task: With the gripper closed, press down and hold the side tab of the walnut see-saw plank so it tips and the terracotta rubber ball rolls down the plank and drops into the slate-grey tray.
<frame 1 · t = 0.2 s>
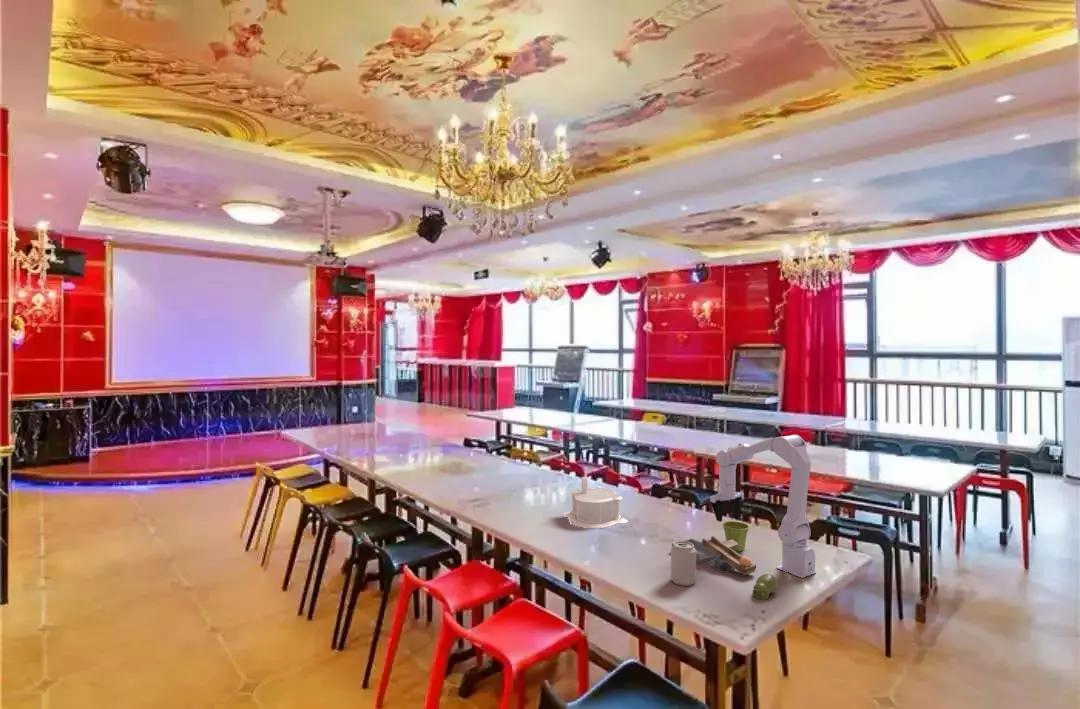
hand: (727, 519, 205), 10 cm above the table, tool pointing down, fingers open, 7 cm apart
pear: (764, 595, 165), on the table
can: (683, 582, 173), on the table
plank: (735, 552, 187), point 4 cm above the table, hinge at -15.0°, touching ball
tray: (695, 554, 197), on the table
ball: (745, 562, 179), point 4 cm above the table, tilted 44°, touching plank
fulcrum: (724, 566, 186), on the table
plant pot: (735, 549, 202), on the table
birthday cake: (595, 519, 237), on the table
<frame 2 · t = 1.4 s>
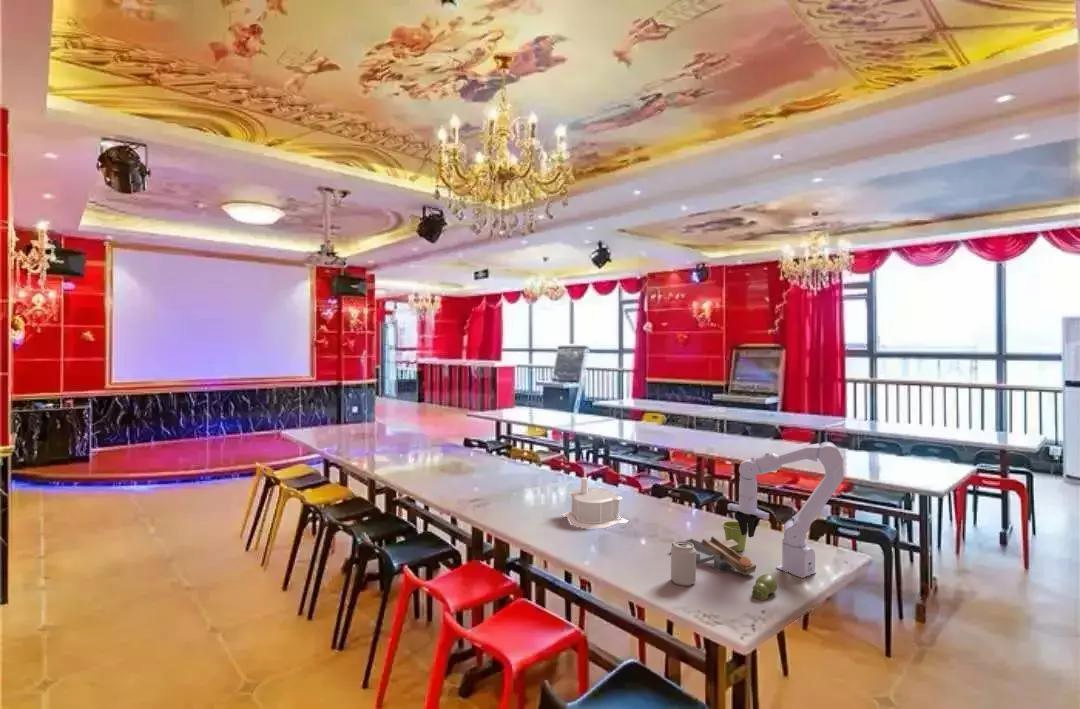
hand: (747, 535, 189), 9 cm above the table, tool pointing down, fingers closed
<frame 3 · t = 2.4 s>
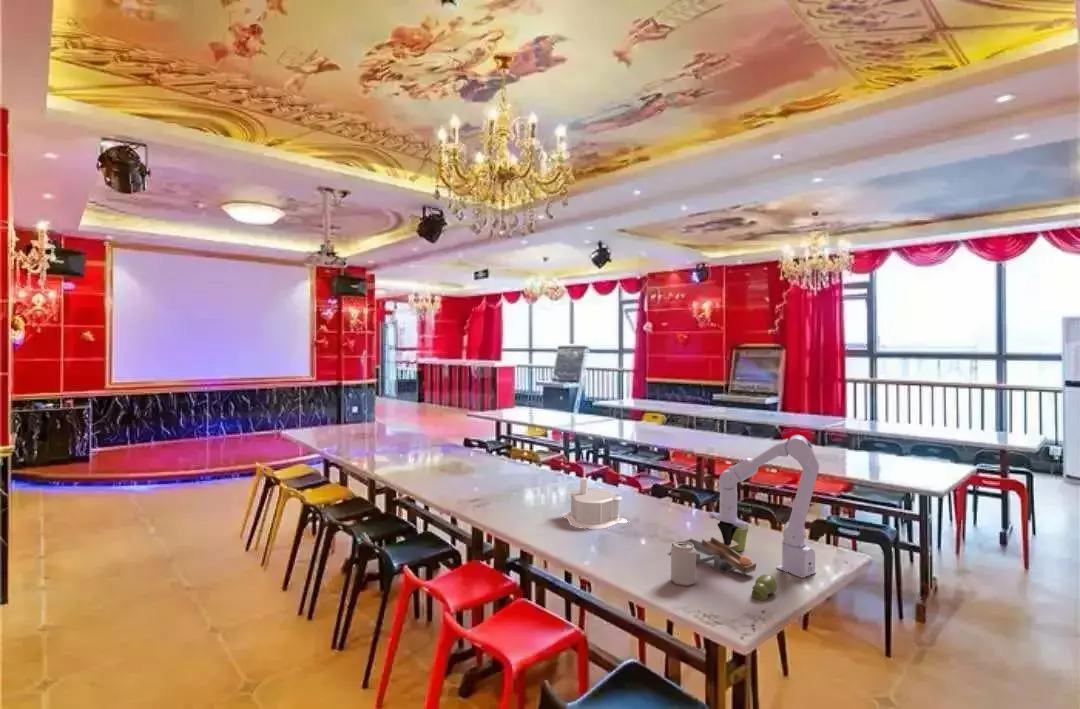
hand: (727, 544, 193), 5 cm above the table, tool pointing down, fingers closed, pressing on plank
plank: (735, 552, 187), point 5 cm above the table, hinge at -12.3°, touching ball, gripper
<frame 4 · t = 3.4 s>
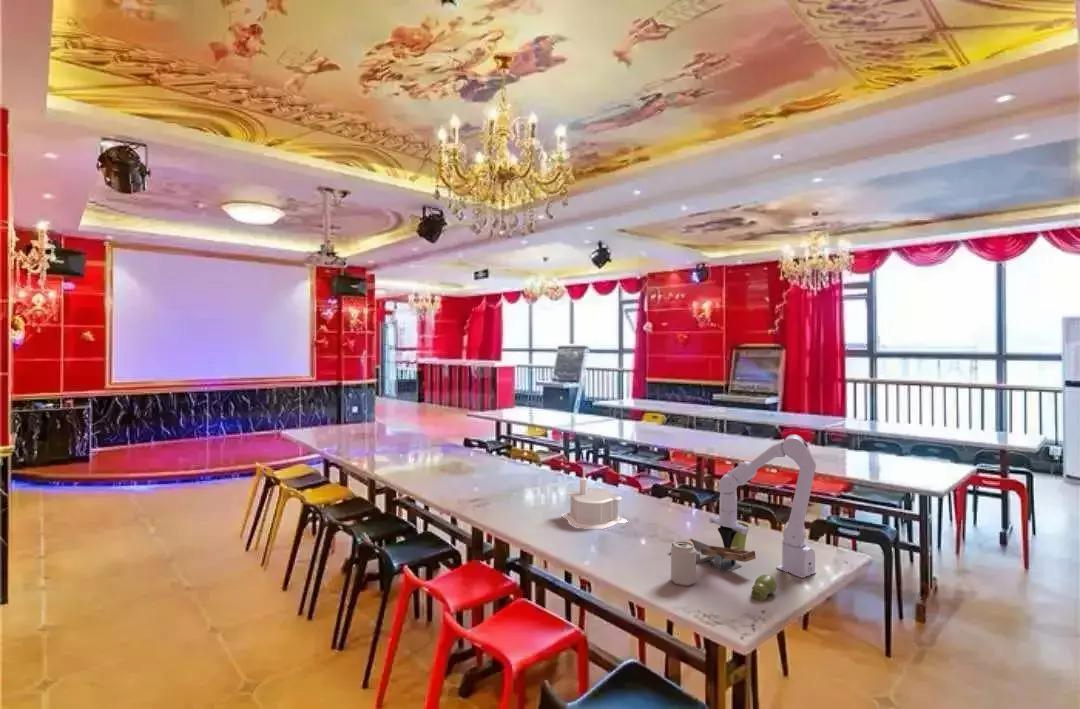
hand: (727, 548, 193), 4 cm above the table, tool pointing down, fingers closed, pressing on plank
plank: (734, 550, 187), point 5 cm above the table, hinge at 10.5°, touching gripper
ball: (688, 545, 199), point 2 cm above the table, tilted 93°, touching tray
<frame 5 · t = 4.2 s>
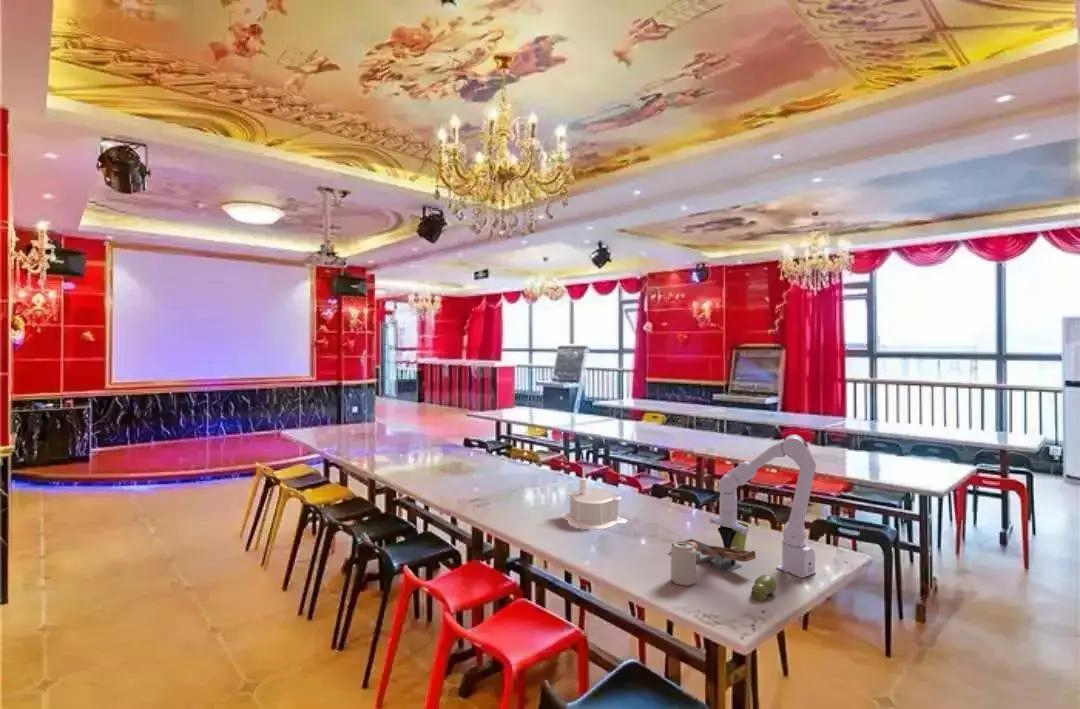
hand: (727, 548, 193), 4 cm above the table, tool pointing down, fingers closed, pressing on plank
plank: (734, 550, 187), point 5 cm above the table, hinge at 10.5°, touching gripper
ball: (692, 547, 197), point 2 cm above the table, tilted 32°, touching tray
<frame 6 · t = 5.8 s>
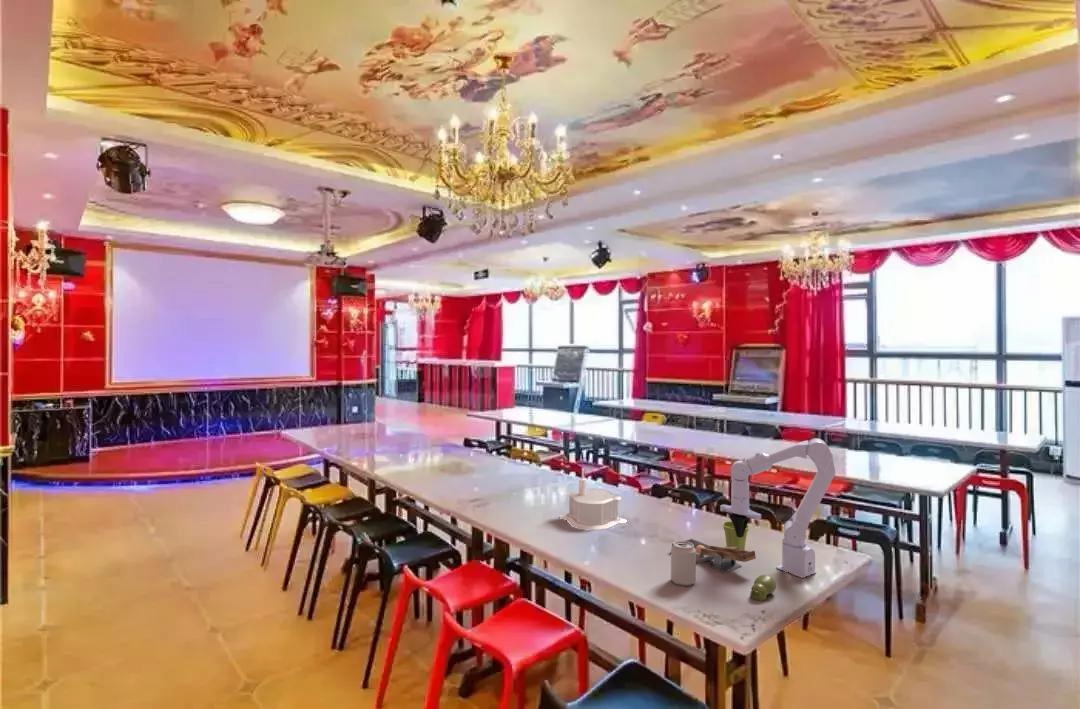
hand: (740, 536, 190), 9 cm above the table, tool pointing down, fingers closed
plank: (734, 550, 187), point 5 cm above the table, hinge at 10.5°
ball: (700, 550, 194), point 2 cm above the table, tilted 90°, touching tray
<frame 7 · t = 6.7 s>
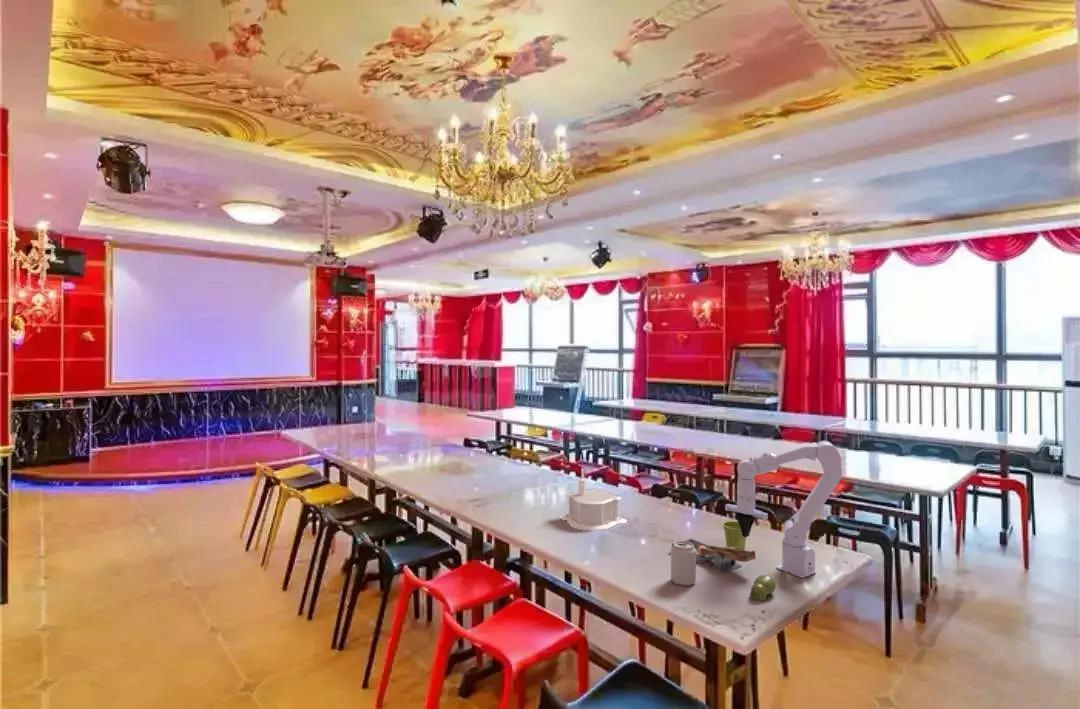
hand: (745, 536, 188), 9 cm above the table, tool pointing down, fingers closed
ball: (702, 551, 194), point 2 cm above the table, tilted 114°, touching tray
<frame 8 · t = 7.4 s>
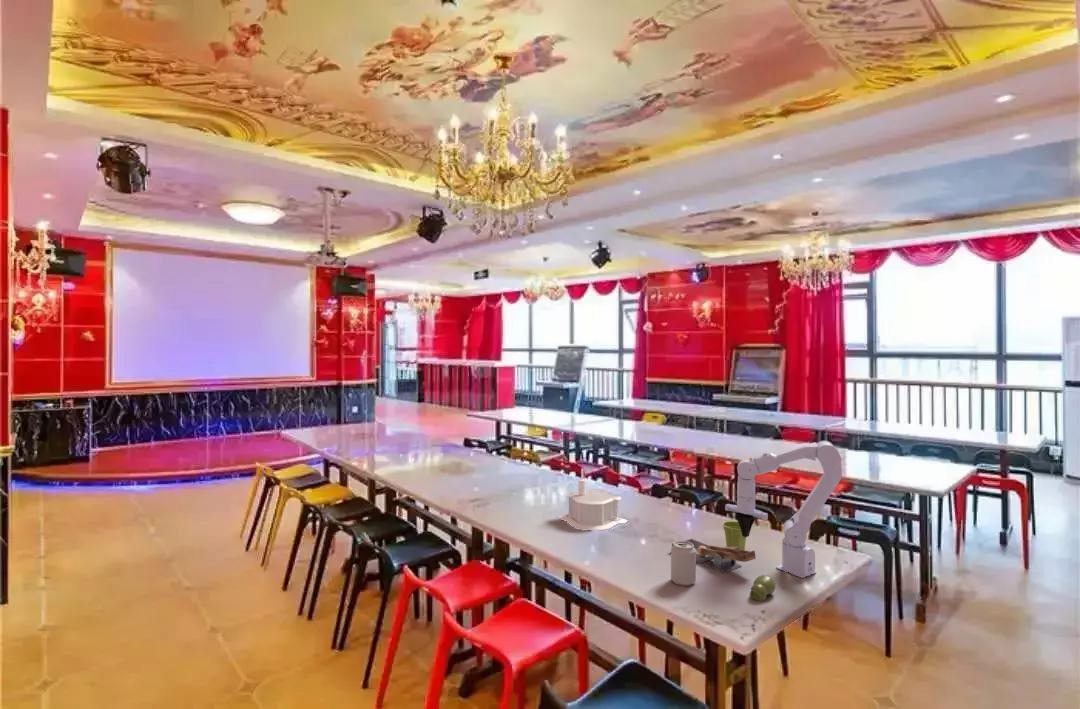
hand: (745, 536, 188), 9 cm above the table, tool pointing down, fingers closed
at the end: ball inside the target area on the tray (3.3 cm from its centre), point 2.2 cm above the tray's base; ball touching tray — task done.
